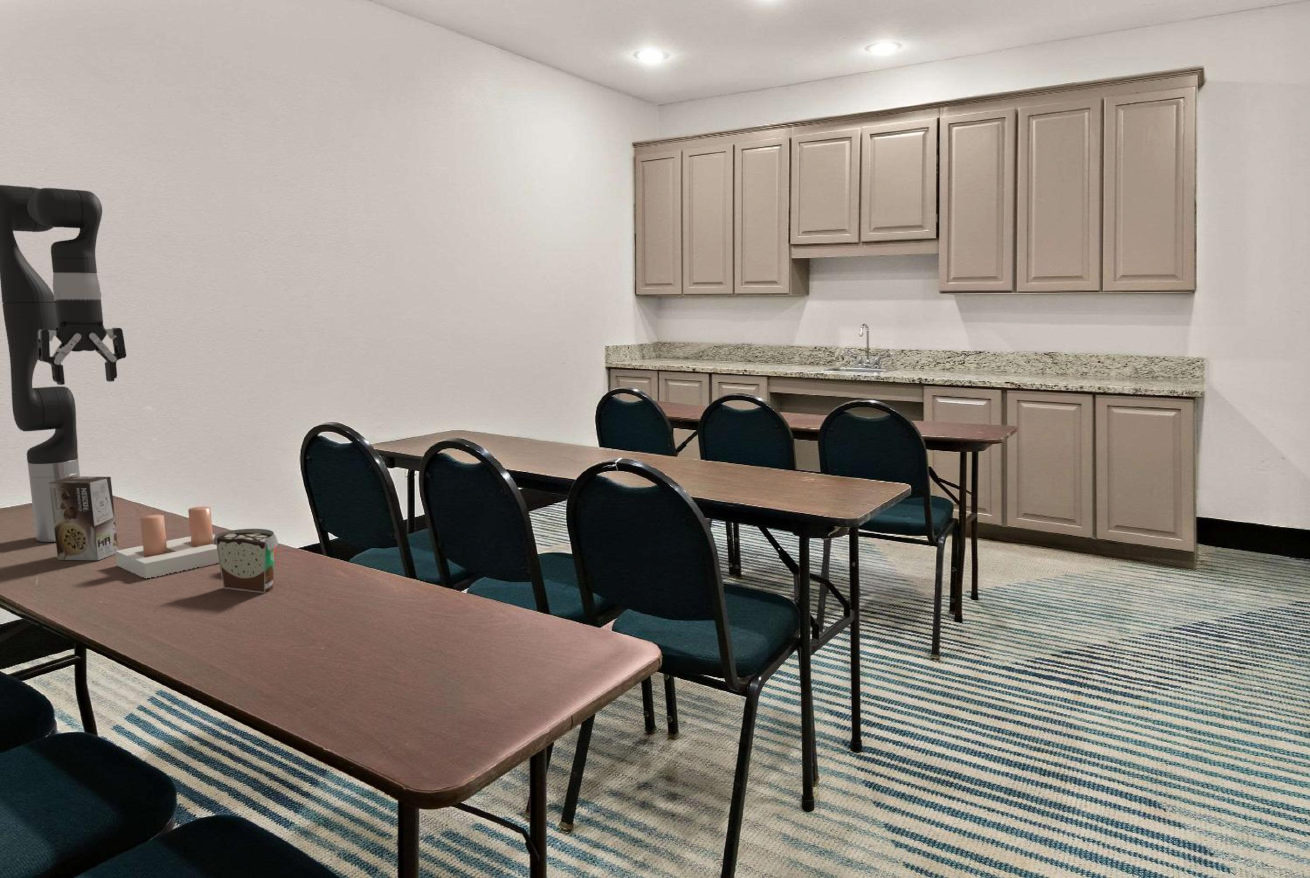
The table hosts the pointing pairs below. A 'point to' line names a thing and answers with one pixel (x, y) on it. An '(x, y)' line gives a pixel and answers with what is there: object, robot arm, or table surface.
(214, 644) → the table surface
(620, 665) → the table surface
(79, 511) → the coffee box
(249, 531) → the food container
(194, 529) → the pin board
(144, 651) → the table surface
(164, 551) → the pin
